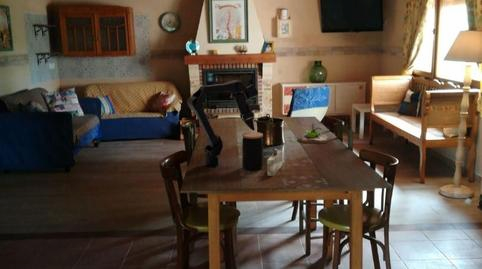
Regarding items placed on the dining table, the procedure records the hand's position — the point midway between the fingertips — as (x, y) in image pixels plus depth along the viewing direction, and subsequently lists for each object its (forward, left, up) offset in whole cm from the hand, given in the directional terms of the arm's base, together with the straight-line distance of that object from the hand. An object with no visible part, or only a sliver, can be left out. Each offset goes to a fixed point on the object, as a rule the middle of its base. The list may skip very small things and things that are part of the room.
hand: (252, 129), depth 252 cm
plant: (+23, +59, -18) cm, 66 cm away
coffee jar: (+4, -12, -18) cm, 22 cm away
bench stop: (+16, -12, -18) cm, 27 cm away
